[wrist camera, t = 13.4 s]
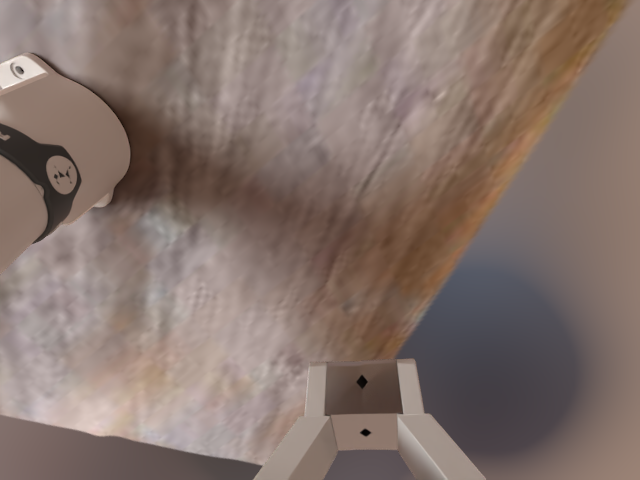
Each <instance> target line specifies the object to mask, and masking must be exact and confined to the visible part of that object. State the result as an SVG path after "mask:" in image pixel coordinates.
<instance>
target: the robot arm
mask: <svg viewBox="0 0 640 480" xmlns="http://www.w3.org/2000/svg"><path fill="white" fill-rule="evenodd" d="M20 67H21V68H22V69H23V70H24V72H23V71H22V70H21V69H20ZM129 164H130V145H129V141H128V138H127V135H126V132H125V130H124V128H123V126H122V124H121V123H120V121H119V119H118V118H117V116H116V115H115V114H114V112H113V111H112V110H111V109H110V108H109V107H108V105H107V104H106V103H105V102H104V101H102V100H101V99H100V98H99V97H98V96H97V95H95V94H94V93H93V92H91V91H90V90H88V89H87V88H85V87H84V86H82V85H80V84H78V83H76V82H74V81H72V80H70V79H67V78H65V77H63V76H61V75H60V74H58V73H56V72H55V71H54V70H53V69H52V68H51V67H50V66H48V65H47V64H46V63H45V62H44V61H43V60H41V59H40V58H39V57H37V56H36V55H34V54H31V53H23V54H21V55H19V56H16V57H14V58H12V59H9V60H7V61H5V62H2V63H0V275H1V274H2V273H3V272H4V271H5V270H6V269H7V268H8V267H9V266H10V265H11V264H12V263H13V262H14V261H15V260H16V259H17V258H18V257H19V256H20V255H21V254H22V253H23V252H24V251H25V250H26V249H27V248H28V247H29V246H30V245H31V244H34V243H36V242H39V241H41V240H42V239H44V238H45V237H46V236H48V235H50V234H51V233H52V232H54V231H55V230H56V229H57V228H58V227H59V226H60V225H62V224H64V225H70V224H72V223H73V222H75V221H76V220H77V219H78V218H80V217H81V216H82V215H83V214H85V213H86V212H87V211H88V210H90V209H91V208H92V207H105V206H106V205H107V204H109V203H110V202H111V200H112V197H113V191H114V187H115V186H116V184H117V183H118V182H119V181H120V180H121V179H122V178H123V177H124V175H125V174H126V172H127V170H128V167H129ZM367 448H368V449H379V450H380V449H381V450H398V452H399V453H400V455H401V456H402V458H403V459H404V461H405V463H406V464H407V466H408V467H409V469H410V470H411V472H412V473H413V475H414V476H415V478H416V480H486V478H485V477H484V476H483V475H482V474H481V473H480V472H479V470H478V469H477V468H476V467H475V466H474V464H473V463H472V462H471V461H470V460H469V459H468V458H467V456H466V455H465V454H464V453H463V452H462V450H461V449H460V448H459V447H458V446H457V445H456V443H455V442H454V441H453V440H452V439H451V438H450V436H449V435H448V434H447V433H446V432H445V431H444V429H443V428H442V427H441V426H440V425H439V424H438V422H437V421H436V420H435V419H434V418H433V416H431V414H425V413H424V407H423V401H422V395H421V390H420V384H419V378H418V373H417V367H416V362H415V360H414V359H413V358H412V359H382V360H363V361H344V362H310V365H309V370H308V382H307V393H306V405H305V416H299V418H298V419H297V420H296V422H295V423H294V425H293V426H292V427H291V429H290V430H289V431H288V433H287V434H286V436H285V437H284V438H283V440H282V441H281V442H280V444H279V445H278V446H277V448H276V449H275V451H274V452H273V453H272V455H271V456H270V457H269V459H268V460H267V462H266V463H265V464H264V466H263V467H262V468H261V470H260V471H259V473H258V474H257V475H256V477H255V478H254V479H253V480H323V479H324V477H325V475H326V473H327V472H328V470H329V468H330V466H331V464H332V462H333V460H334V459H335V457H336V455H337V452H338V451H337V450H360V449H367Z"/></svg>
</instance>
